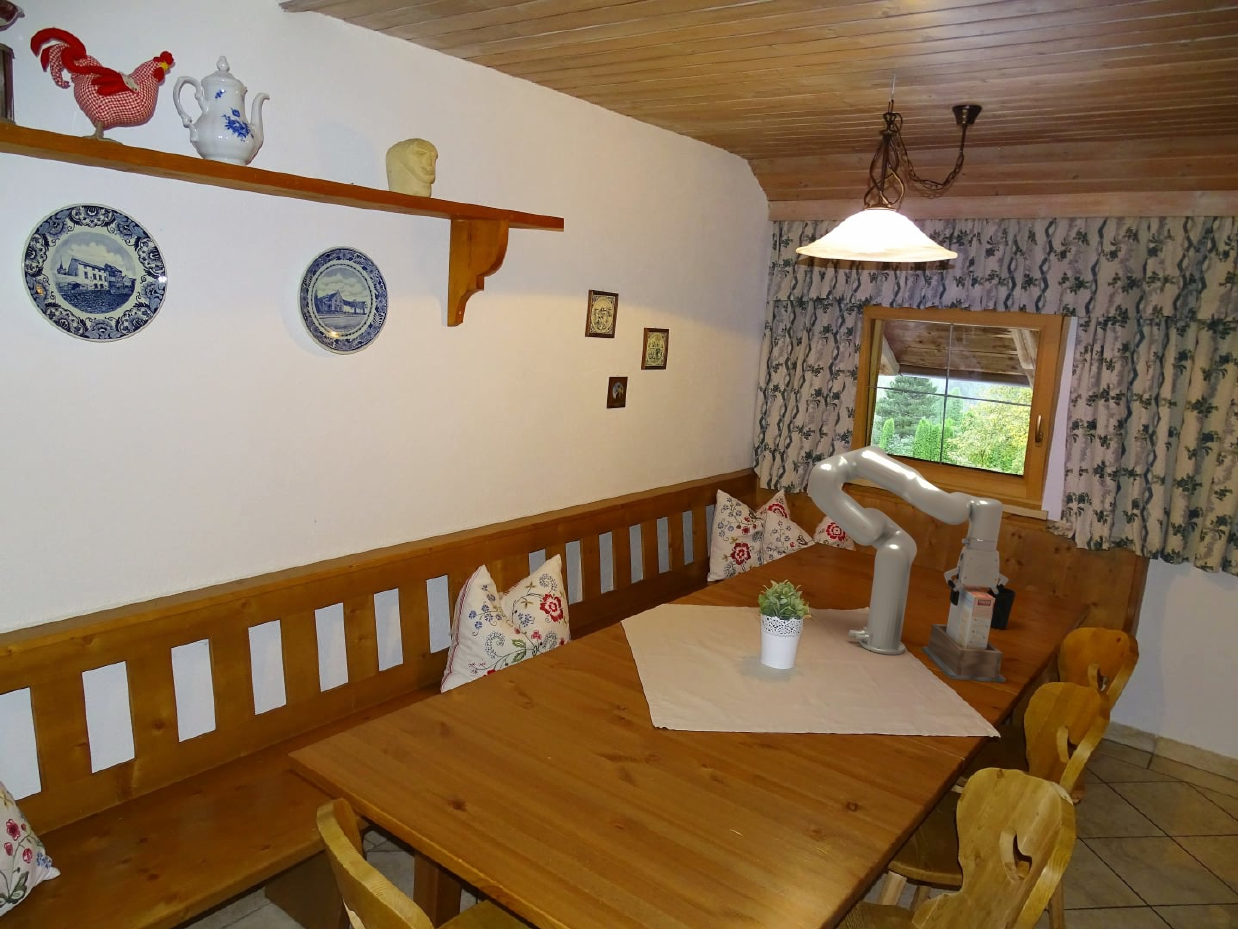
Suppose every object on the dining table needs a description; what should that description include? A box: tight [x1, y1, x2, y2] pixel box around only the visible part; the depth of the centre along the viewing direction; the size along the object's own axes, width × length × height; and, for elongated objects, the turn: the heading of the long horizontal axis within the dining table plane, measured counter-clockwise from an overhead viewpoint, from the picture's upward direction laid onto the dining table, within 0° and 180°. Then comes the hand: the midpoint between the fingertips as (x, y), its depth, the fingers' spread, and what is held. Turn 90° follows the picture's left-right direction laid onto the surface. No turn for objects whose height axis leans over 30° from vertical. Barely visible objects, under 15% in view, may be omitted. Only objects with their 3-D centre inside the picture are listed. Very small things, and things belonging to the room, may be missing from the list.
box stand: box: [920, 623, 1006, 683], centre depth 241 cm, size 15×20×8 cm
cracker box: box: [946, 585, 995, 650], centre depth 240 cm, size 14×6×21 cm, turn 0°
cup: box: [988, 587, 1017, 631], centre depth 276 cm, size 8×8×12 cm
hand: (971, 605), depth 239 cm, fingers open, 9 cm apart
